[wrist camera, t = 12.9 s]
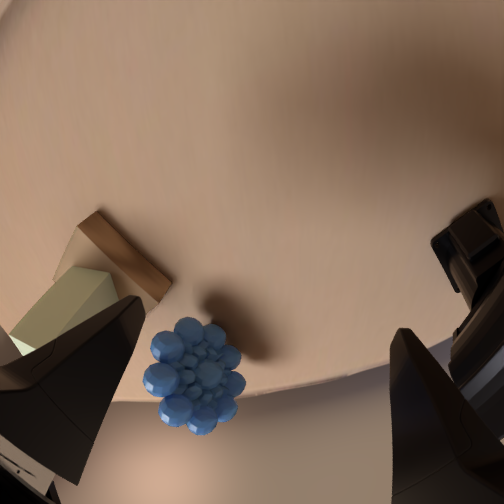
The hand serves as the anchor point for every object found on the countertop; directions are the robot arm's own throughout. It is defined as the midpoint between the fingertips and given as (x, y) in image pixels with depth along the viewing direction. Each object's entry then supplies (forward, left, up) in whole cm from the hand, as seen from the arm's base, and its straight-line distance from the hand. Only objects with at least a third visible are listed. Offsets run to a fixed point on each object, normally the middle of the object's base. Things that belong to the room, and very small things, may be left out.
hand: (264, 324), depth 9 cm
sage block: (+5, +20, -10) cm, 23 cm away
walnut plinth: (+5, +20, -13) cm, 24 cm away
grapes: (-6, +16, -13) cm, 22 cm away
